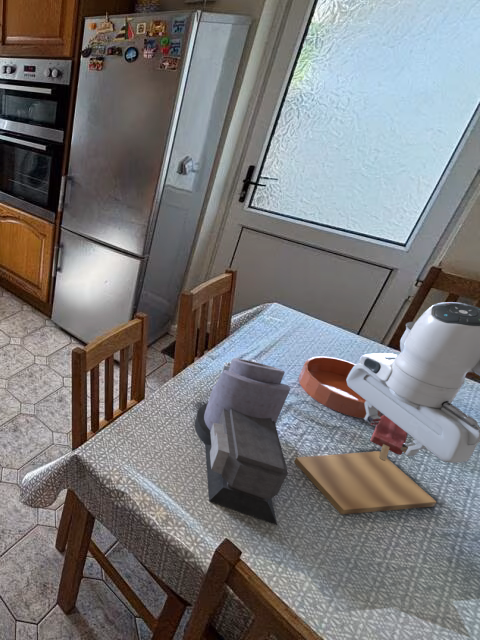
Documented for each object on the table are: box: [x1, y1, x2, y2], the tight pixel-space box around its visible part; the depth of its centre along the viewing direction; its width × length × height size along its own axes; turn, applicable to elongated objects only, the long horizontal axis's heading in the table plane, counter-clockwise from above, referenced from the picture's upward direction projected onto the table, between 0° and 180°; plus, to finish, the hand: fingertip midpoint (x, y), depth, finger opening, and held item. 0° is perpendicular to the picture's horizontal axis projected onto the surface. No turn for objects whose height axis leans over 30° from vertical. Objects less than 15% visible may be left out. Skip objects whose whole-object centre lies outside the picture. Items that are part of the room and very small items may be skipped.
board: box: [293, 450, 437, 515], centre depth 88 cm, size 20×12×2 cm, turn 94°
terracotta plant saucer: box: [298, 355, 384, 419], centre depth 110 cm, size 18×18×5 cm
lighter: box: [220, 359, 257, 374], centre depth 115 cm, size 7×2×8 cm, turn 58°
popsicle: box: [369, 414, 408, 461], centre depth 82 cm, size 4×2×15 cm
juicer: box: [194, 357, 291, 526], centre depth 89 cm, size 30×16×24 cm, turn 155°
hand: (387, 436), depth 82 cm, fingers closed on popsicle, 6 cm apart
